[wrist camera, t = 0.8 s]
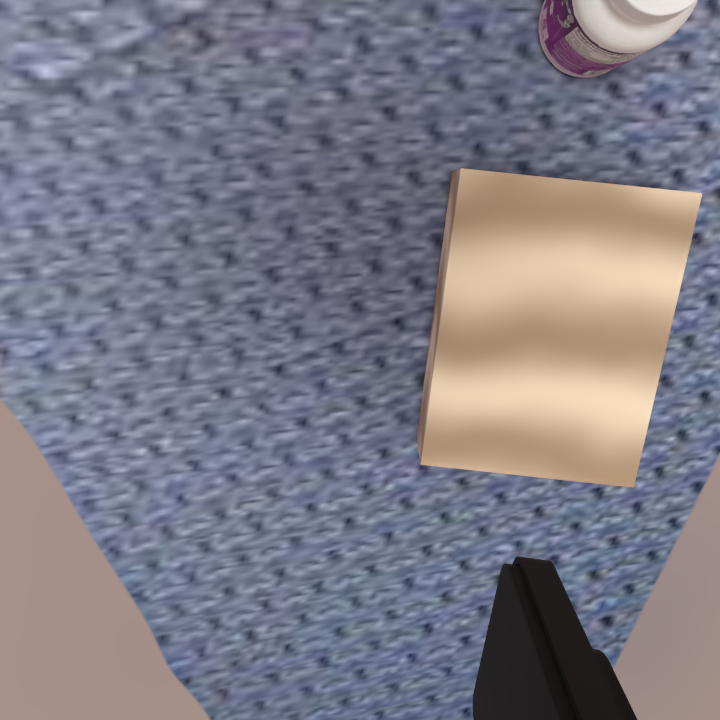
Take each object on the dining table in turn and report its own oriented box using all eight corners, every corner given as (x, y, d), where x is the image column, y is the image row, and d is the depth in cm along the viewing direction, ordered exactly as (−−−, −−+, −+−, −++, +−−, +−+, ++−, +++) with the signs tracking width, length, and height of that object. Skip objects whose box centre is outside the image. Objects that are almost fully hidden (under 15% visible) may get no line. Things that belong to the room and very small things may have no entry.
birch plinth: (452, 171, 34) (460, 168, 31) (666, 194, 34) (702, 193, 30) (416, 438, 38) (420, 464, 35) (608, 458, 38) (633, 487, 35)
